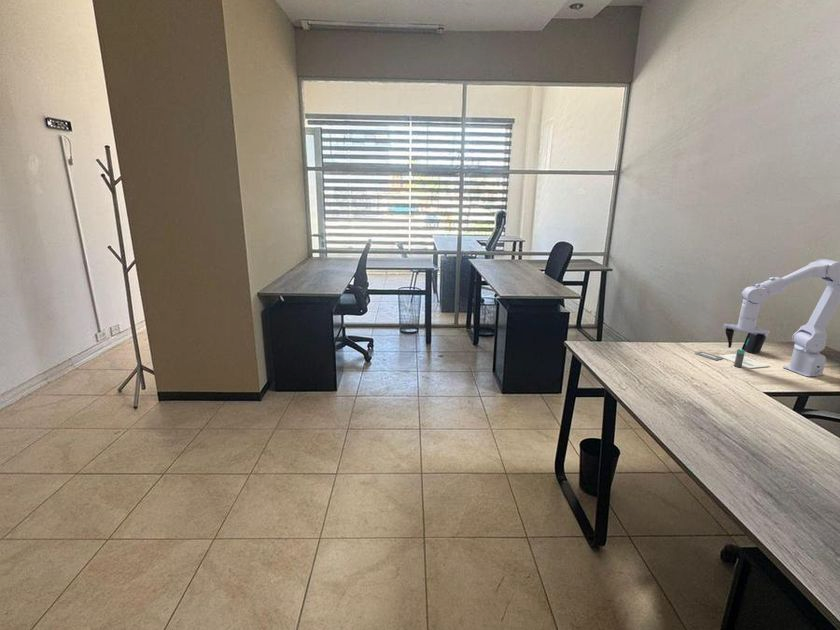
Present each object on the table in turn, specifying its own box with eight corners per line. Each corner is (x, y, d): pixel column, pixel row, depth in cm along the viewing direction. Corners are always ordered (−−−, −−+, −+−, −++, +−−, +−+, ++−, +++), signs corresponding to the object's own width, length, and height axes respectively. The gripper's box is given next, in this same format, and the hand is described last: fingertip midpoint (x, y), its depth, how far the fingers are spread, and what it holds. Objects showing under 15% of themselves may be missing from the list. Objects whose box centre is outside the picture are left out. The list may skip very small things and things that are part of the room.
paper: (769, 366, 170) (769, 365, 169) (748, 368, 168) (748, 367, 168) (737, 354, 183) (737, 353, 183) (718, 356, 181) (718, 355, 181)
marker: (743, 367, 169) (746, 351, 167) (738, 367, 169) (741, 351, 167) (737, 364, 172) (740, 348, 170) (732, 365, 171) (735, 349, 169)
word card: (723, 358, 178) (723, 357, 178) (716, 360, 176) (716, 359, 176) (701, 351, 186) (701, 351, 186) (694, 353, 184) (694, 353, 184)
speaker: (736, 347, 190) (744, 326, 187) (747, 347, 191) (755, 326, 187) (751, 355, 183) (759, 333, 180) (762, 355, 184) (770, 333, 180)
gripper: (772, 318, 163) (765, 351, 166) (727, 311, 172) (721, 342, 176) (771, 322, 158) (763, 355, 161) (724, 315, 167) (718, 347, 171)
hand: (741, 349), depth 168 cm, fingers open, 7 cm apart
